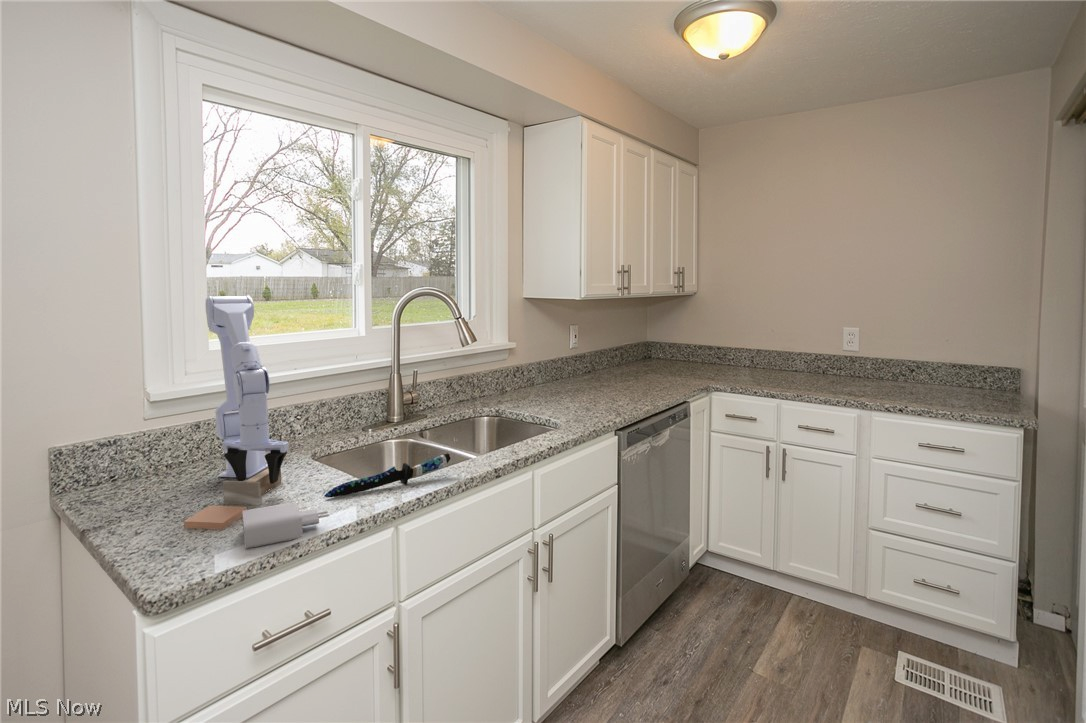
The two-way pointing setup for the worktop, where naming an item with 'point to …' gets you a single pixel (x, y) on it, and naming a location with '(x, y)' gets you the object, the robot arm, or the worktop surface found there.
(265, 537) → the charger
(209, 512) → the tile
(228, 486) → the scraper
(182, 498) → the worktop surface
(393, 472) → the knife
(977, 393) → the worktop surface
